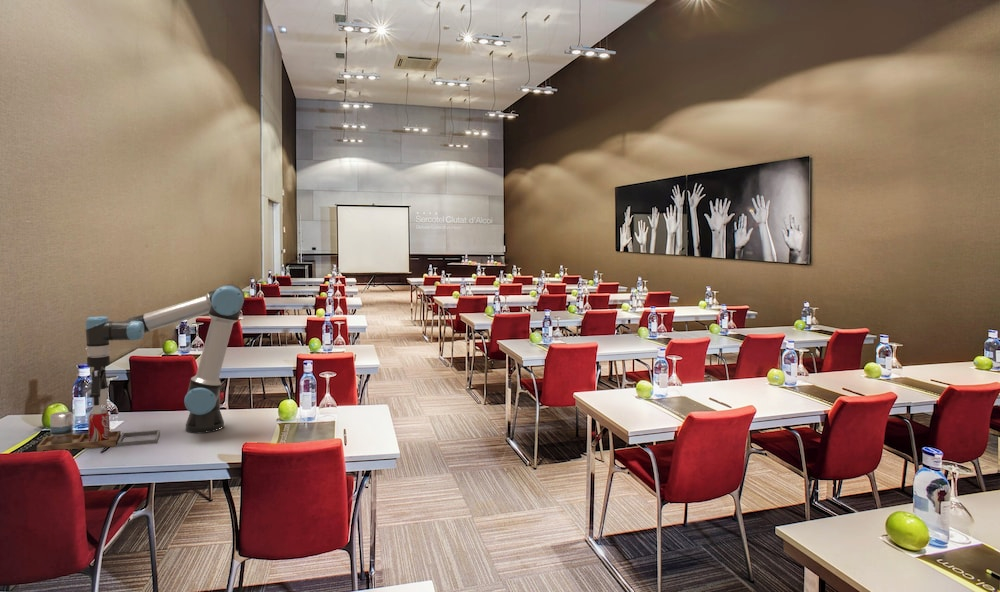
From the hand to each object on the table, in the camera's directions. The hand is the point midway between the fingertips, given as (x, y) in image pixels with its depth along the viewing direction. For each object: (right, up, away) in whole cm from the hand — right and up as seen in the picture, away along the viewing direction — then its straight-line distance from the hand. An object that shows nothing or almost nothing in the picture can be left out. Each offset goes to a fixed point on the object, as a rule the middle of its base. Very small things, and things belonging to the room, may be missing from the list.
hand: (100, 409), depth 244 cm
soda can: (-1, -13, +1) cm, 13 cm away
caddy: (-7, -14, -2) cm, 15 cm away
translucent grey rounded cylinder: (-12, -14, -4) cm, 19 cm away
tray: (+12, -14, +7) cm, 19 cm away
